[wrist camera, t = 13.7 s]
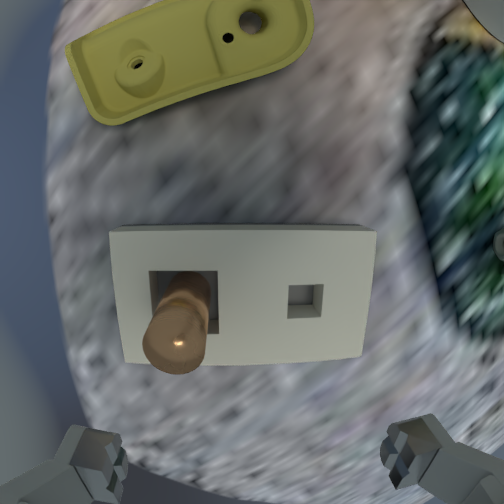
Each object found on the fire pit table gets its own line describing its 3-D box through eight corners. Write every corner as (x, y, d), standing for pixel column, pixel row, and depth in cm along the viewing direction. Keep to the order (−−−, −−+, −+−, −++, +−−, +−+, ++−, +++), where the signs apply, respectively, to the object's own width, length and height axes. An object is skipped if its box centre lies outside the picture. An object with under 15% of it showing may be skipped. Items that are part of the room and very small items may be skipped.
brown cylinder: (166, 270, 28) (138, 318, 18) (211, 271, 28) (204, 320, 19) (169, 311, 29) (146, 372, 19) (211, 312, 29) (206, 375, 19)
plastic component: (98, 134, 24) (58, 36, 17) (119, 113, 29) (88, 34, 23) (324, 63, 22) (296, -44, 16) (301, 56, 28) (277, -29, 22)
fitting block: (135, 342, 30) (125, 362, 26) (123, 224, 28) (109, 231, 24) (347, 338, 32) (360, 356, 28) (358, 224, 29) (376, 231, 26)
